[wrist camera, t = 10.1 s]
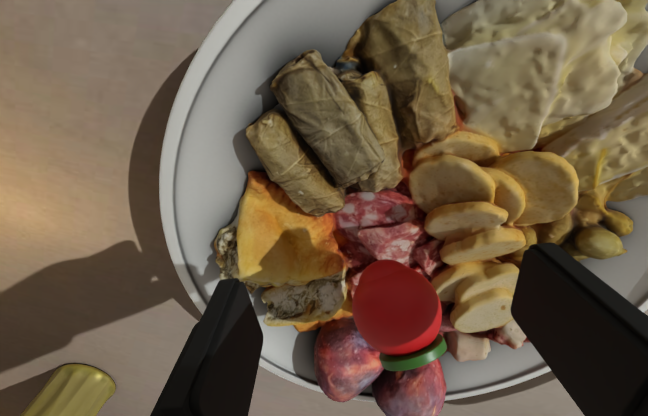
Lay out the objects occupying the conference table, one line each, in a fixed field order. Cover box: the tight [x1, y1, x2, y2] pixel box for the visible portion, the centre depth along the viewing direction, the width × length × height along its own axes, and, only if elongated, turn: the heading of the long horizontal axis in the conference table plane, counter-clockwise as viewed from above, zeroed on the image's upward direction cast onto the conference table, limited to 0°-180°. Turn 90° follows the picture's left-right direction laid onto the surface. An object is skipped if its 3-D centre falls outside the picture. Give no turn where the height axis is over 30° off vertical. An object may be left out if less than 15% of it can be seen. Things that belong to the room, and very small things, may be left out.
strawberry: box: [352, 259, 447, 371], centre depth 13 cm, size 4×4×4 cm
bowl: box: [159, 0, 648, 416], centre depth 17 cm, size 30×30×8 cm
